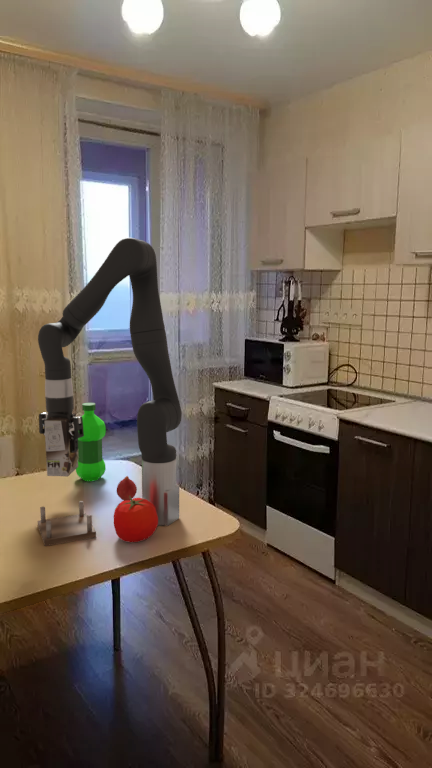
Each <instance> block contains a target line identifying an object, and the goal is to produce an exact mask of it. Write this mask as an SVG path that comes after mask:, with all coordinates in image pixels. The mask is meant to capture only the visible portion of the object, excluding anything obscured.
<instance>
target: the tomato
mask: <svg viewBox="0 0 432 768" xmlns="http://www.w3.org/2000/svg"><path fill="white" fill-rule="evenodd" d="M129 497H130V496H129ZM112 517H113V526H114V532H115V533H116V535H117V537H118V538H119V539H120V540H122V542H127V543H138V542H143V541H145V540H148V539H149V538H150V537H152V536H153V534H154V533H155V532H156V530H157V528H158V526H159V525H158V516H157V513H156V508H155V506H154V505H153V504H152V503H151V502H149V501H148V500H146V499H142V498H141V497H133V498H131V497H130V500H128V501H124V500H121V502H119V503H118V505H117V506H116V508H115V509H114V511H113V516H112Z"/></svg>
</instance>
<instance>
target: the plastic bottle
mask: <svg viewBox="0 0 432 768" xmlns="http://www.w3.org/2000/svg"><path fill="white" fill-rule="evenodd" d="M81 405H82V406H81V407H82V411H83V413H84V414H82V415H81V416H82V419H83V431H84V436H83V437H81V438H78V450H77V452H78V467H77V468H76V469H75V472H76V473H75V474H76V475H77V476H78V477H79V478H80V479H81V480H82V481H85V482H95V481H96V482H97V481H98V480H99V479H100V478H101V477H102V476H103V475H104V474H105V473H106V470H107V469H106V462H105V460H104V459H103V438H104V437H105V436H106V432H107V430H106V424H105V421H104V420H103V419H101V418H100V417H99V416H97V415H96V414H95V411H96V410H97V409H96V403H95V402H84V403H82V404H81Z"/></svg>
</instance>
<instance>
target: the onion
mask: <svg viewBox="0 0 432 768" xmlns="http://www.w3.org/2000/svg"><path fill="white" fill-rule="evenodd" d="M137 491H138V487H137V485H136V483H135V482H134V481H133V480H132V479H130V478H129V476H128V475H127V476H125V477H124V478H123V479H121V480H120V481H119V483H118V484H117V487H116V495H117V496H118V498H119V499H121V501H128V500H130V497H131V498H132V499H133V498H135V496H136V494H137ZM129 496H130V497H129Z"/></svg>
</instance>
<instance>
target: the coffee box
mask: <svg viewBox="0 0 432 768" xmlns="http://www.w3.org/2000/svg"><path fill="white" fill-rule="evenodd" d="M72 414H73V416H74V417H77V415H76V413H72ZM44 423H45V436H44V438H45V439H44V441H45V456H46V457H45V458H46V460H45V461H46V477H69V476H70V475H71V474H72V473H73V472H75V471H76V468H77V467H78V451H77V452H75V453H71V452H70V438H69V430H70V429H71V428H72V424H71V422H70V423H69V419H67V418H60V417H49V418H48V419H46V420H44ZM72 423H73V422H72ZM73 425H74V424H73ZM71 433H72V432H71ZM72 435H73V434H72Z"/></svg>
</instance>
